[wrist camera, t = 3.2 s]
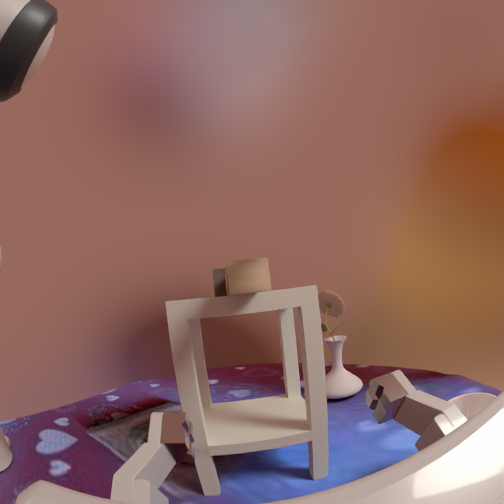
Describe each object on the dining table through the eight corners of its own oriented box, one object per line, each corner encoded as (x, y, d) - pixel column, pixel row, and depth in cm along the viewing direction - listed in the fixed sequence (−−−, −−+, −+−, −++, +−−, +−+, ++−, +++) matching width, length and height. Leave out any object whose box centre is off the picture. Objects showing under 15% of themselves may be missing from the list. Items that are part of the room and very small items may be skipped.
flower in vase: (372, 391, 50) (365, 283, 54) (330, 408, 47) (321, 290, 51) (341, 380, 62) (333, 287, 66) (303, 392, 59) (293, 293, 63)
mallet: (208, 296, 19) (204, 248, 19) (216, 297, 37) (213, 272, 38) (291, 287, 20) (285, 240, 20) (258, 292, 38) (256, 268, 38)
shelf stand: (204, 495, 23) (165, 301, 27) (208, 446, 36) (184, 300, 40) (328, 476, 25) (316, 285, 29) (300, 434, 38) (287, 289, 42)
